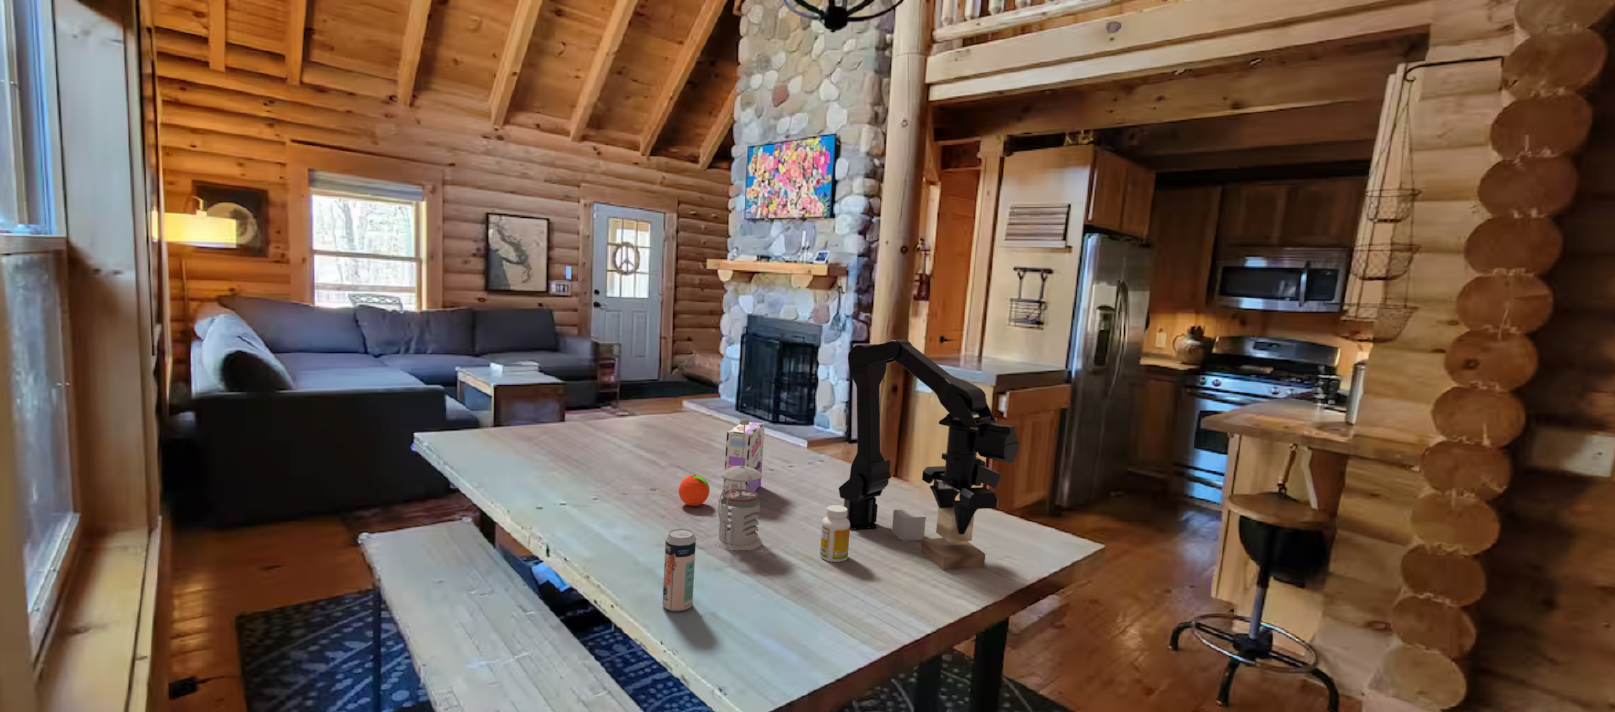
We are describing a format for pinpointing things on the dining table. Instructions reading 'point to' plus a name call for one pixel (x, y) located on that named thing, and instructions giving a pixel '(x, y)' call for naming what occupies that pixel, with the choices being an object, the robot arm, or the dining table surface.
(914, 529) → the grey cube
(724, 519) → the french press
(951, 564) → the walnut block
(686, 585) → the beer can
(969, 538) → the maple cube
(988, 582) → the dining table surface
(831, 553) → the supplement bottle
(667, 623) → the dining table surface
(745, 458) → the candy box
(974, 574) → the dining table surface
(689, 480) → the clementine
